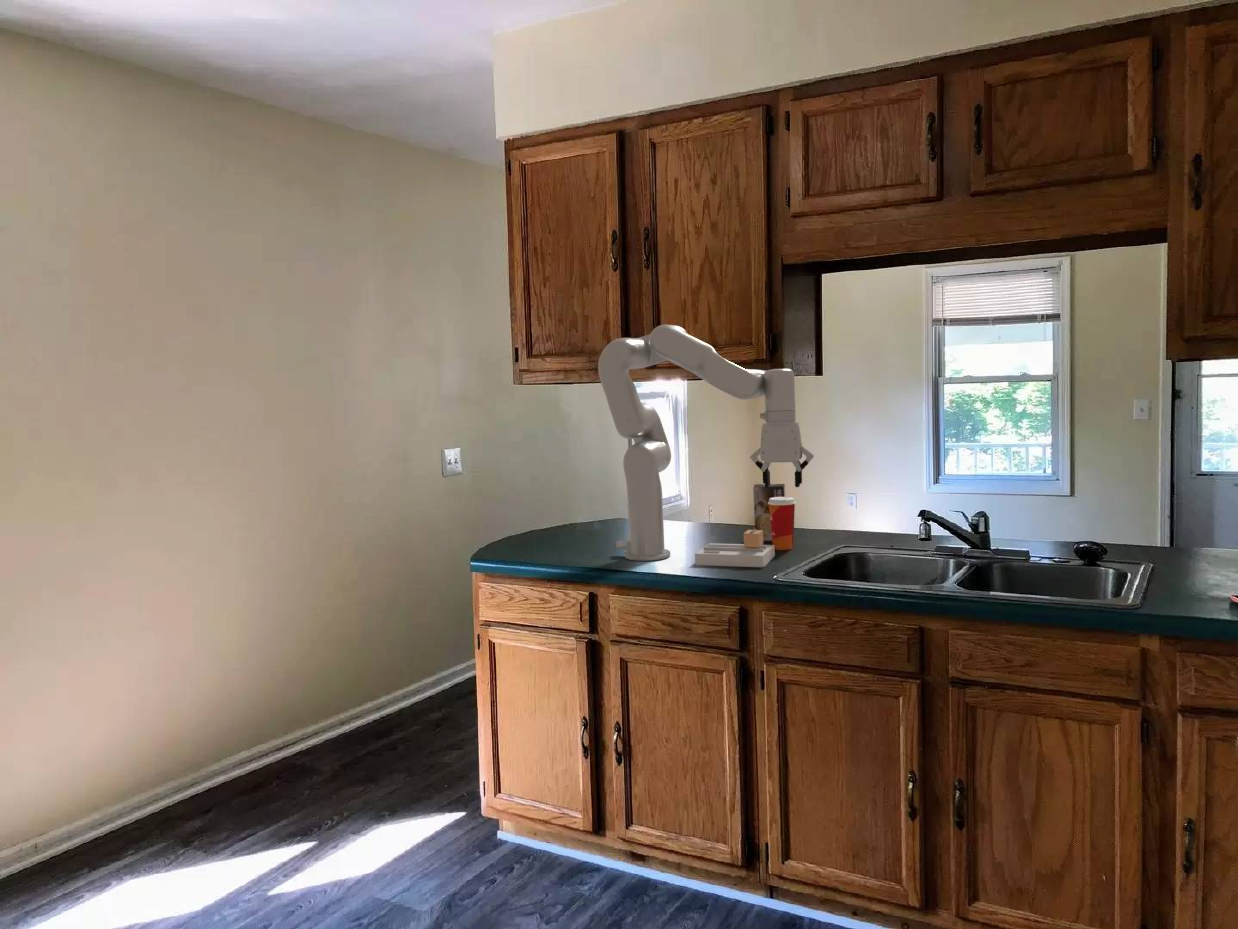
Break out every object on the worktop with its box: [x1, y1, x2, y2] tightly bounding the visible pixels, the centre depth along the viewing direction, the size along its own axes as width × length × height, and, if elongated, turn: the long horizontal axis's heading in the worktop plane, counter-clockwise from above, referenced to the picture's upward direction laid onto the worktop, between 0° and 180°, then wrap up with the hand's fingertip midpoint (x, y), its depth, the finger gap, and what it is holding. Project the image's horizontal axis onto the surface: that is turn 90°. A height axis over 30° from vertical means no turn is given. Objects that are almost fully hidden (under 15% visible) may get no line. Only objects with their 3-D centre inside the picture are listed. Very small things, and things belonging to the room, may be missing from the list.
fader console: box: [694, 542, 776, 568], centre depth 244 cm, size 18×14×4 cm
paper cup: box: [768, 496, 797, 551], centre depth 257 cm, size 8×8×14 cm
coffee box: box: [752, 483, 786, 542], centre depth 272 cm, size 9×6×16 cm
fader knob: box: [743, 528, 764, 548], centre depth 242 cm, size 4×5×5 cm
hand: (782, 486), depth 238 cm, fingers open, 7 cm apart
